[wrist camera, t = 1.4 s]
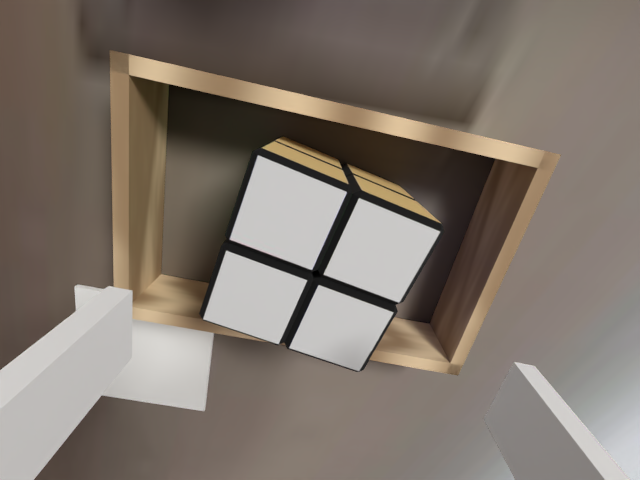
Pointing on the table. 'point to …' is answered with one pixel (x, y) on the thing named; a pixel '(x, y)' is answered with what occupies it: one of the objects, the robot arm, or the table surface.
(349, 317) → the puzzle cube
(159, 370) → the pad
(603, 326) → the table surface
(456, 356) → the wooden frame
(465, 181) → the table surface
